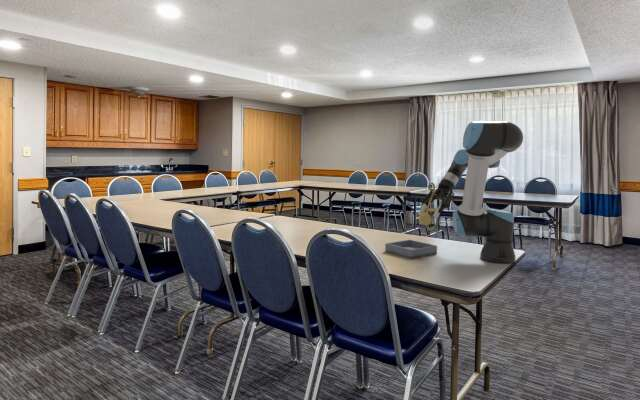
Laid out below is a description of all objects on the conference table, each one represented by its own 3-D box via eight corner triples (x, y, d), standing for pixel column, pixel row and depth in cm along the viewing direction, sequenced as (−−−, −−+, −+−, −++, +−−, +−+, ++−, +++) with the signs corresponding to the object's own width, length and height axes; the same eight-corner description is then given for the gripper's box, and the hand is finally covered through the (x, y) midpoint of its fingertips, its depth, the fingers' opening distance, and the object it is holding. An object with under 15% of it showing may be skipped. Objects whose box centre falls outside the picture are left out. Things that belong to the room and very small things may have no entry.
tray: (436, 253, 208) (437, 245, 208) (412, 258, 198) (412, 250, 197) (409, 247, 222) (409, 239, 222) (385, 251, 212) (385, 243, 211)
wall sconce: (432, 234, 211) (435, 183, 207) (415, 231, 217) (418, 182, 214) (446, 229, 221) (448, 182, 217) (429, 227, 227) (432, 180, 224)
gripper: (469, 189, 216) (448, 223, 209) (434, 186, 234) (414, 218, 227) (462, 179, 213) (441, 213, 206) (428, 177, 231) (407, 209, 224)
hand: (427, 216), depth 216 cm, fingers closed on wall sconce, 9 cm apart
